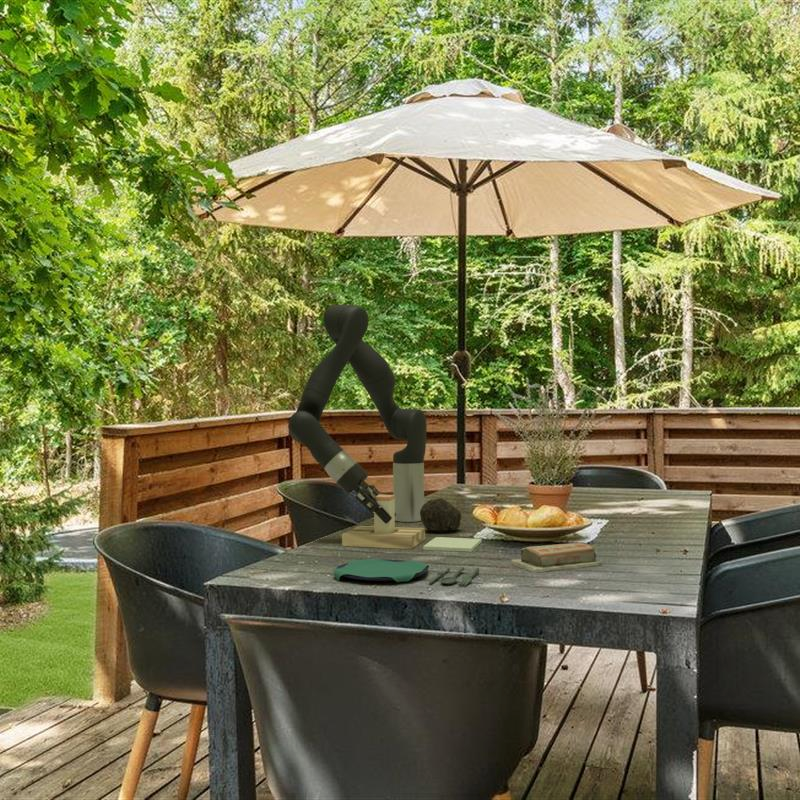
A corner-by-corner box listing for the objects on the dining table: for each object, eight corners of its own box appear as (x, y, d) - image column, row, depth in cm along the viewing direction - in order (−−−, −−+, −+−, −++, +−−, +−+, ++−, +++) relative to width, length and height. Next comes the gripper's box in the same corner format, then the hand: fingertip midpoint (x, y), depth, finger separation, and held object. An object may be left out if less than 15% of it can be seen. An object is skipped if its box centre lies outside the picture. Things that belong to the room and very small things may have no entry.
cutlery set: (354, 565, 208) (354, 555, 208) (484, 573, 199) (484, 563, 199) (320, 584, 190) (320, 573, 190) (461, 593, 180) (461, 581, 180)
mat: (436, 540, 239) (436, 537, 239) (481, 542, 236) (481, 538, 236) (423, 549, 226) (423, 546, 226) (471, 551, 223) (471, 548, 223)
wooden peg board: (359, 537, 245) (359, 525, 245) (424, 539, 240) (424, 528, 240) (342, 545, 231) (342, 534, 231) (411, 549, 227) (411, 536, 227)
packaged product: (575, 539, 214) (602, 546, 205) (575, 560, 214) (602, 567, 205) (510, 545, 206) (535, 552, 197) (510, 566, 206) (535, 575, 197)
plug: (379, 540, 239) (379, 494, 238) (394, 541, 238) (394, 494, 237) (374, 543, 234) (374, 496, 234) (389, 544, 233) (389, 497, 233)
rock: (467, 526, 257) (462, 491, 256) (452, 537, 247) (447, 501, 246) (434, 527, 261) (429, 493, 260) (418, 539, 251) (413, 503, 250)
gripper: (349, 464, 230) (396, 513, 228) (362, 459, 244) (406, 505, 242) (328, 485, 231) (375, 534, 229) (342, 479, 245) (387, 525, 243)
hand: (391, 519), depth 235 cm, fingers closed on plug, 5 cm apart
